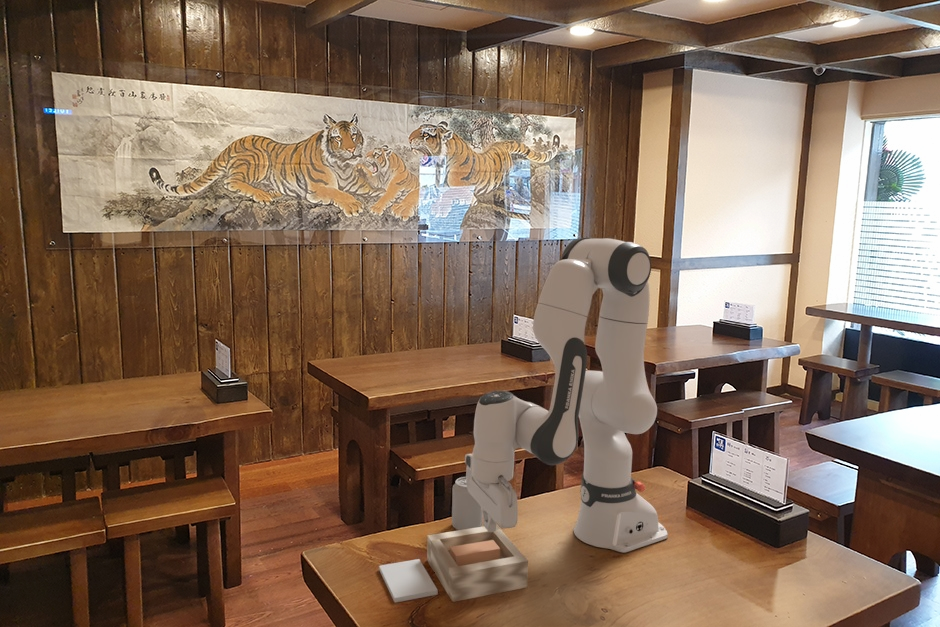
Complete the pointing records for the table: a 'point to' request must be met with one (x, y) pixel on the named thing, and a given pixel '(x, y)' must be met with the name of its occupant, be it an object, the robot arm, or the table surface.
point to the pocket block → (476, 564)
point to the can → (464, 507)
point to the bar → (475, 552)
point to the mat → (407, 580)
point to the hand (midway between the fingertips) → (489, 529)
